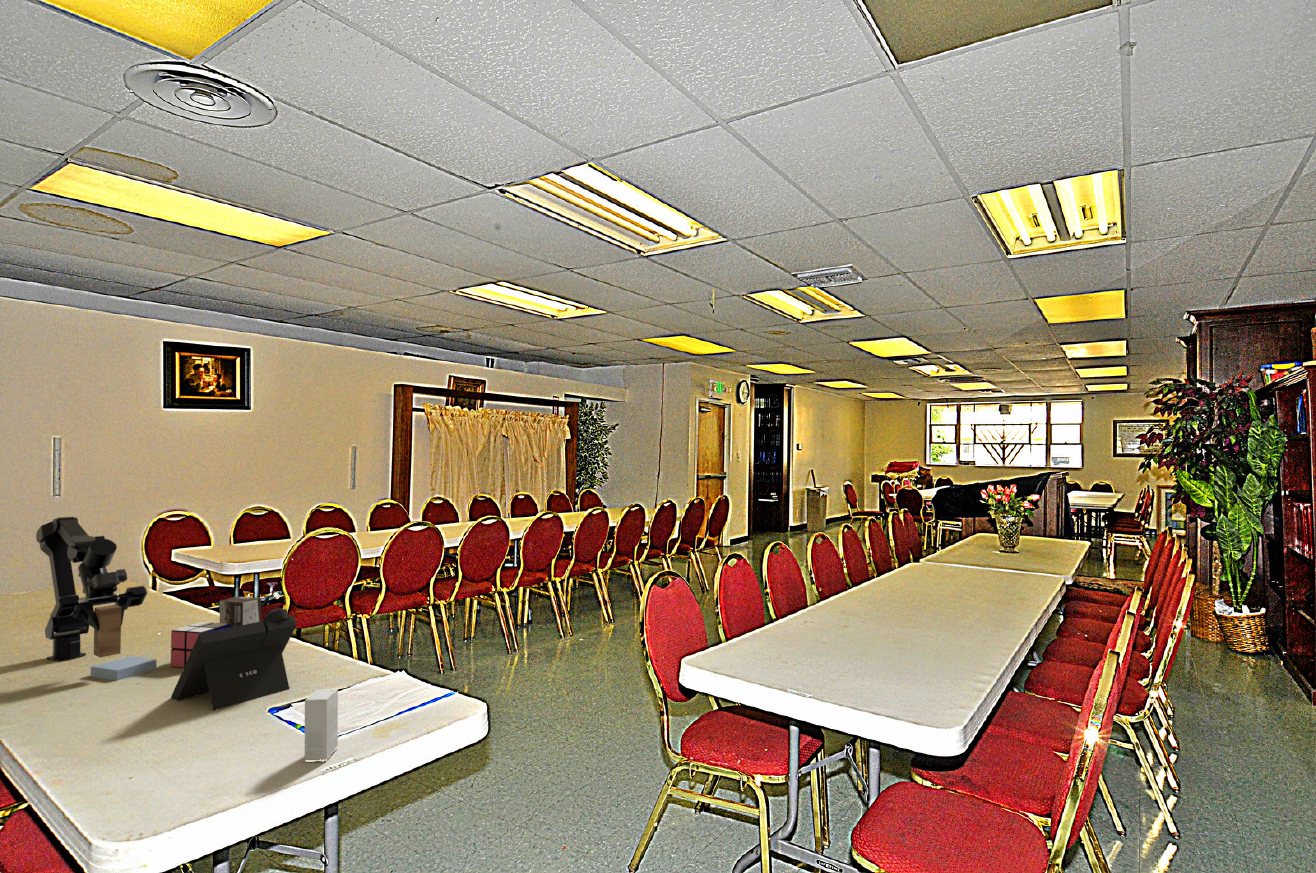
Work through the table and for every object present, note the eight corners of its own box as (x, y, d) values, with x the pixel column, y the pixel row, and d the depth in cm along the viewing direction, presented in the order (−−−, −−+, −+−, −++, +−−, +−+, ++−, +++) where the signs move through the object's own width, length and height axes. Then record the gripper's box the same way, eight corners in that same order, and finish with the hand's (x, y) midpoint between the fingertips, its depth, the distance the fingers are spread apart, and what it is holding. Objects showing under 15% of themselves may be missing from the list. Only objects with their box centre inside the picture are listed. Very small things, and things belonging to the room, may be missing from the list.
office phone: (272, 660, 199) (272, 588, 199) (327, 679, 182) (328, 601, 183) (151, 689, 175) (152, 608, 175) (203, 714, 158) (204, 624, 159)
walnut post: (93, 654, 182) (94, 607, 182) (114, 650, 185) (115, 604, 185) (99, 657, 179) (100, 610, 179) (120, 653, 183) (121, 607, 183)
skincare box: (315, 749, 140) (316, 688, 140) (338, 748, 140) (338, 688, 140) (303, 763, 134) (303, 699, 134) (326, 762, 134) (327, 699, 134)
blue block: (90, 677, 184) (90, 666, 184) (130, 666, 193) (130, 655, 193) (117, 682, 180) (117, 670, 181) (156, 670, 190) (156, 659, 190)
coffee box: (261, 653, 204) (262, 597, 205) (242, 659, 198) (242, 602, 199) (238, 650, 207) (238, 595, 208) (218, 656, 201) (218, 599, 202)
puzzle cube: (200, 669, 190) (201, 632, 190) (169, 667, 192) (170, 630, 192) (230, 658, 200) (230, 623, 200) (200, 656, 202) (200, 621, 202)
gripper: (58, 564, 177) (72, 615, 171) (145, 555, 192) (161, 602, 186) (47, 592, 182) (60, 642, 175) (133, 581, 197) (148, 627, 190)
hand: (109, 627), depth 182 cm, fingers closed on walnut post, 4 cm apart
